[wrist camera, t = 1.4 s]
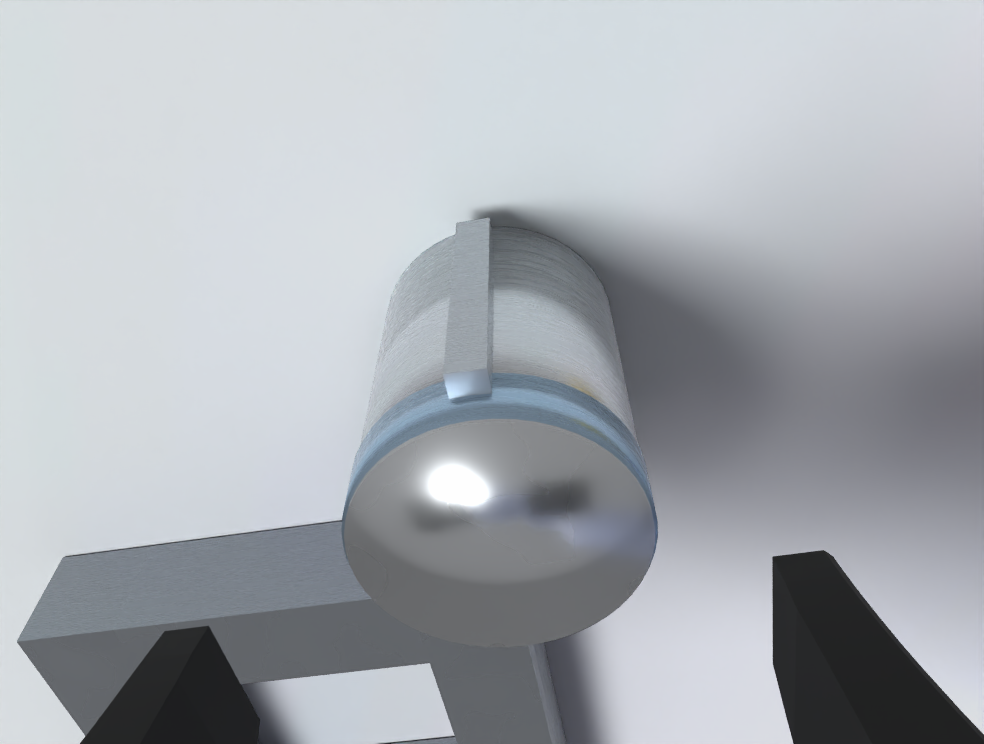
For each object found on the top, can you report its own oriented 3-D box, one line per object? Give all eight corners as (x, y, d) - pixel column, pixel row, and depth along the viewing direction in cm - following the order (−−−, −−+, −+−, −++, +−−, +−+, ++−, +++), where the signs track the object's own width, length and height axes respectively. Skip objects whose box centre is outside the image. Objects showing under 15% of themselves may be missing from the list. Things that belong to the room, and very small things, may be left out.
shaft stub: (624, 404, 19) (669, 631, 14) (413, 433, 19) (384, 663, 14) (598, 186, 16) (642, 372, 11) (352, 226, 17) (291, 422, 12)
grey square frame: (572, 770, 26) (579, 856, 24) (220, 805, 28) (197, 889, 26) (511, 499, 20) (512, 581, 18) (62, 557, 22) (16, 641, 19)
